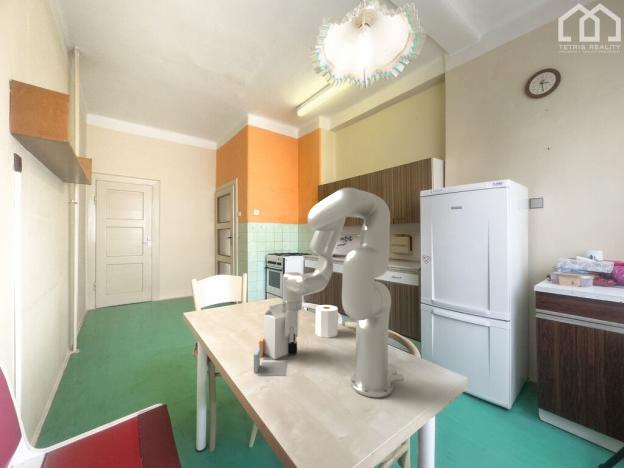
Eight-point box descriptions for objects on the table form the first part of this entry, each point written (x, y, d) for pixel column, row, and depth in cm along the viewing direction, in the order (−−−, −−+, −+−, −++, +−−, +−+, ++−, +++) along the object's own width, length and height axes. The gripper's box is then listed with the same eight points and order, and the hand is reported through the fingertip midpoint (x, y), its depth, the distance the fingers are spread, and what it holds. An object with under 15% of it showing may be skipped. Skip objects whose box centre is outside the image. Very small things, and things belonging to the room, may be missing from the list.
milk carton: (289, 353, 101) (290, 304, 101) (274, 360, 96) (275, 307, 96) (277, 348, 106) (278, 300, 106) (263, 353, 101) (263, 304, 101)
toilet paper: (311, 334, 121) (311, 308, 121) (323, 328, 129) (323, 303, 129) (329, 339, 114) (329, 312, 114) (341, 332, 123) (341, 307, 123)
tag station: (289, 349, 105) (289, 333, 105) (285, 376, 85) (285, 357, 85) (262, 349, 105) (262, 334, 105) (252, 376, 85) (252, 357, 85)
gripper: (284, 300, 108) (284, 345, 108) (280, 310, 93) (281, 362, 93) (302, 300, 108) (303, 344, 108) (301, 310, 93) (302, 362, 93)
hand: (292, 352), depth 100 cm, fingers closed
